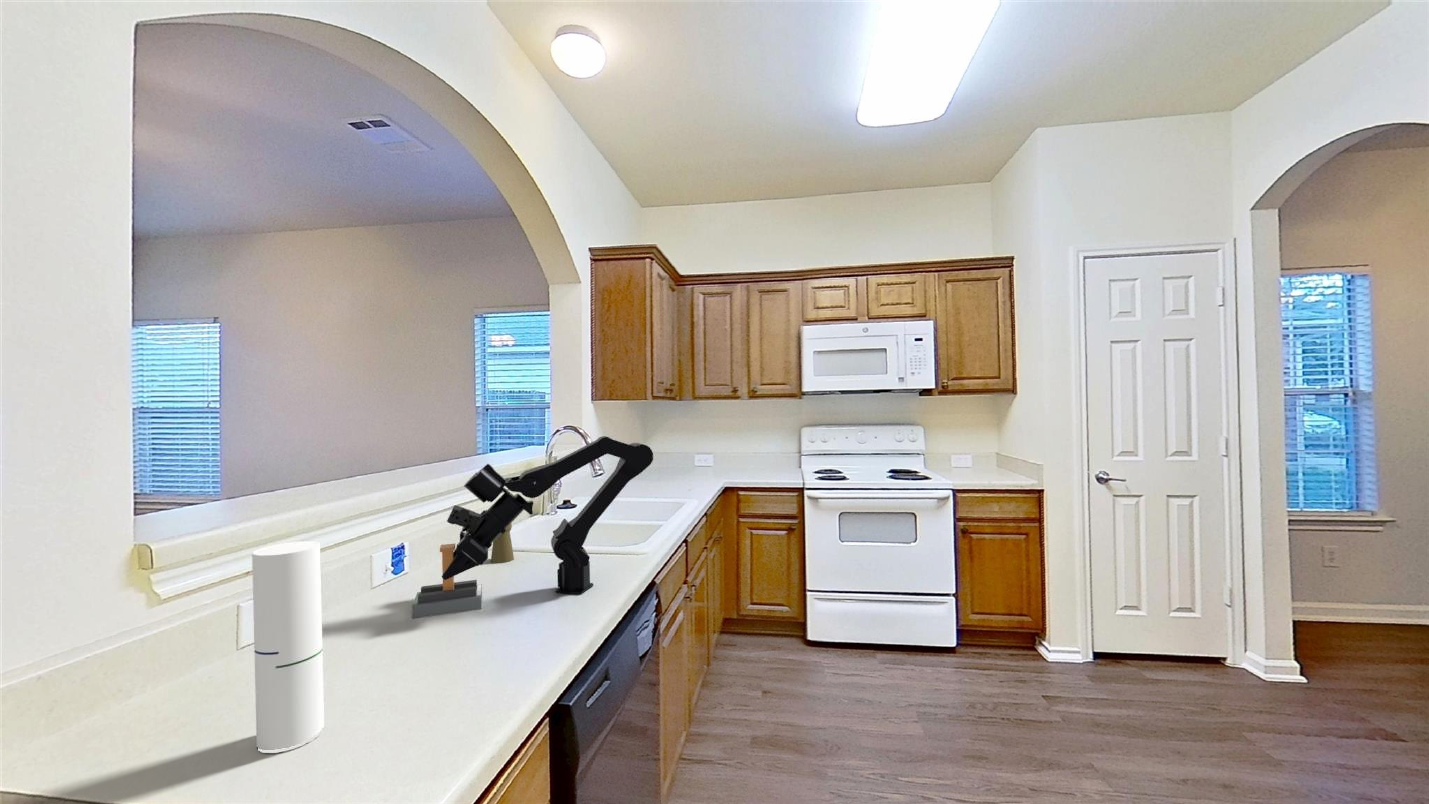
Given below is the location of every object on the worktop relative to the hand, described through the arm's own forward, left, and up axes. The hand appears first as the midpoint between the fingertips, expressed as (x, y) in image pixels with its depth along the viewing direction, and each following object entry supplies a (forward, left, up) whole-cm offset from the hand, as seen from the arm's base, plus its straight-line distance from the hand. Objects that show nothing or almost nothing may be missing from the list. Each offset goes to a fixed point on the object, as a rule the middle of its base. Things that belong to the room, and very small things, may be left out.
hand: (445, 572), depth 122 cm
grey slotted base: (0, 0, -7) cm, 7 cm away
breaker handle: (0, 0, -5) cm, 5 cm away
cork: (+10, -34, -8) cm, 36 cm away
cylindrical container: (-14, +45, -8) cm, 48 cm away
